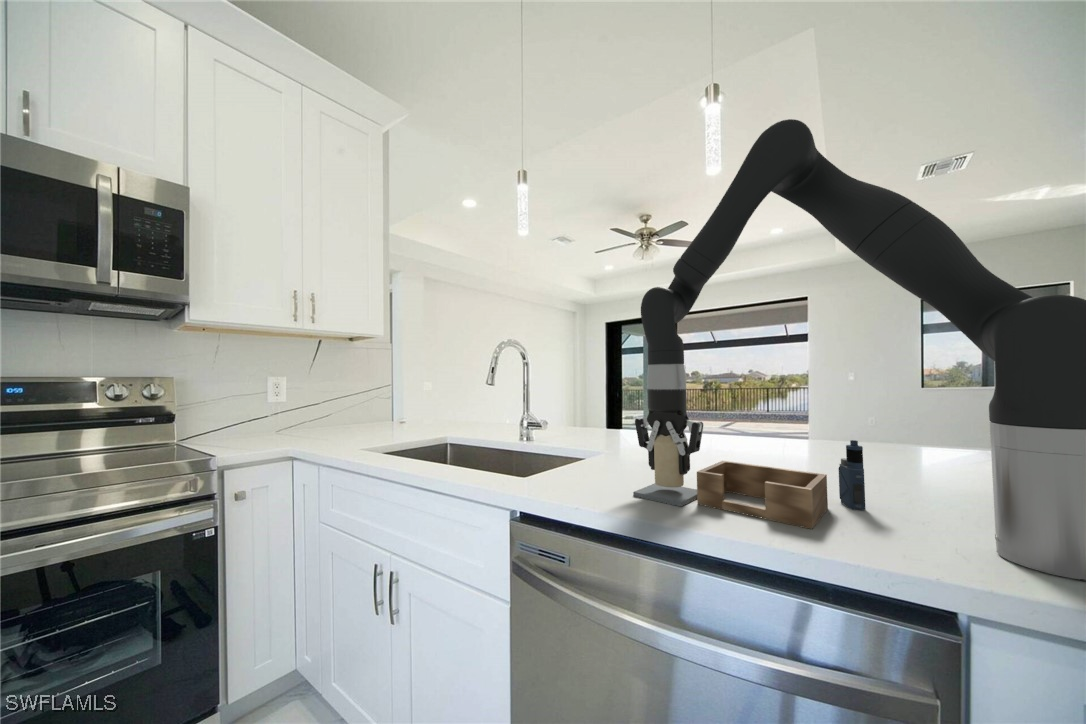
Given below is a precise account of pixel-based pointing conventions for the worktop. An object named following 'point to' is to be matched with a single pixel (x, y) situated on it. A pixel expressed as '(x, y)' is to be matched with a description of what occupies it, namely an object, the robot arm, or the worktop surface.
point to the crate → (765, 491)
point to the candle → (667, 462)
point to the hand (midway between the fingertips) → (668, 471)
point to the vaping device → (852, 477)
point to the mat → (667, 494)
